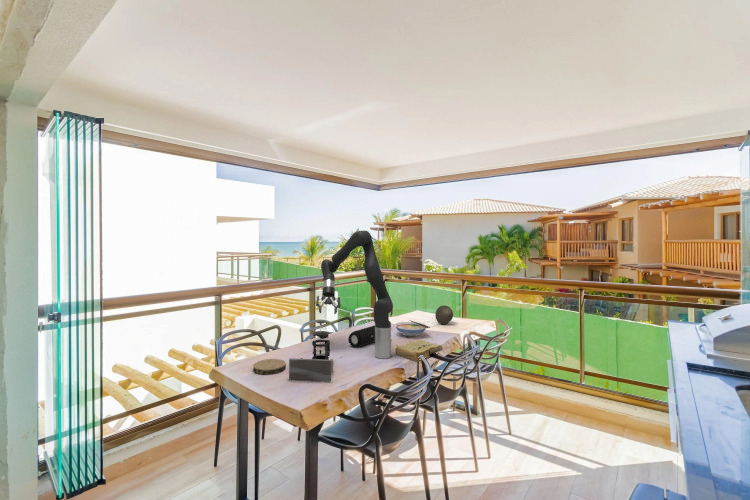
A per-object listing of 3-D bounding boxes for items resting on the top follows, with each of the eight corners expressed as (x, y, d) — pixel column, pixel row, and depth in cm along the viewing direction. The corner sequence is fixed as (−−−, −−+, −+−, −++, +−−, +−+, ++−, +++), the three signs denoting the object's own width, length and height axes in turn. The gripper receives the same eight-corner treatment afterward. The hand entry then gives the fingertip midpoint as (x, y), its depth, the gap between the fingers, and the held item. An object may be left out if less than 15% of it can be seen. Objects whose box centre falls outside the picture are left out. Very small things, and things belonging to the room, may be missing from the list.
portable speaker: (359, 349, 219) (359, 333, 219) (347, 346, 225) (347, 330, 225) (383, 340, 239) (384, 325, 239) (372, 338, 245) (372, 323, 245)
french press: (319, 368, 185) (320, 324, 184) (306, 364, 190) (307, 322, 190) (334, 362, 195) (335, 320, 194) (322, 359, 200) (322, 318, 199)
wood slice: (289, 372, 180) (289, 366, 180) (256, 377, 172) (256, 371, 172) (281, 362, 194) (281, 357, 194) (250, 367, 186) (250, 361, 186)
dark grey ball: (435, 325, 283) (435, 307, 282) (435, 321, 297) (435, 303, 296) (453, 326, 280) (453, 307, 280) (452, 322, 294) (452, 304, 294)
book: (416, 362, 197) (416, 352, 197) (394, 355, 209) (394, 345, 209) (442, 353, 214) (443, 343, 214) (421, 347, 226) (421, 338, 226)
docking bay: (297, 369, 184) (297, 350, 183) (336, 370, 182) (336, 351, 182) (289, 380, 169) (289, 359, 169) (330, 381, 168) (330, 360, 168)
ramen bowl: (388, 332, 259) (388, 321, 259) (415, 329, 269) (415, 319, 269) (405, 341, 237) (405, 329, 237) (434, 338, 246) (434, 326, 246)
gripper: (317, 284, 213) (316, 309, 204) (341, 286, 216) (341, 311, 207) (316, 290, 219) (315, 315, 210) (339, 292, 222) (339, 316, 213)
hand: (327, 313), depth 208 cm, fingers open, 8 cm apart
